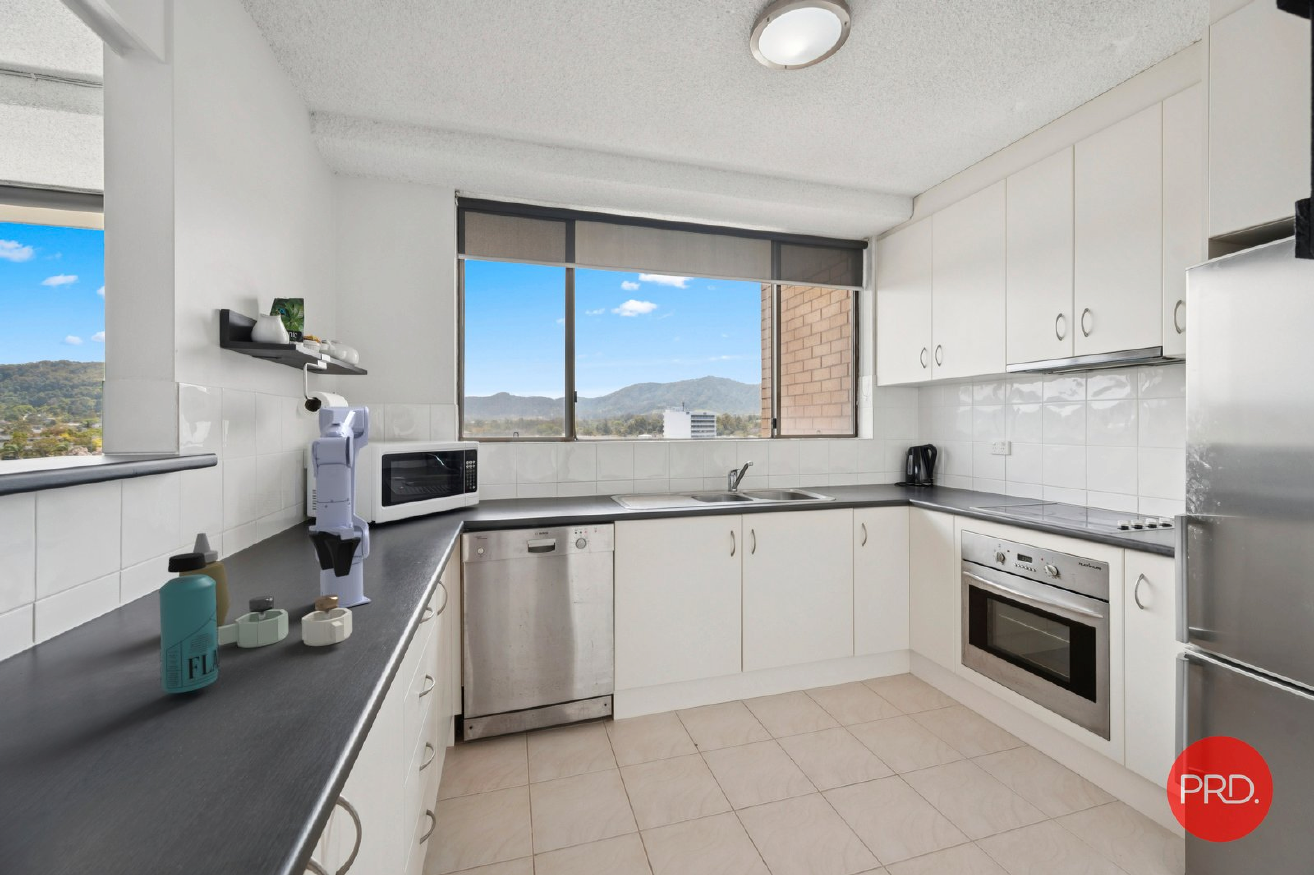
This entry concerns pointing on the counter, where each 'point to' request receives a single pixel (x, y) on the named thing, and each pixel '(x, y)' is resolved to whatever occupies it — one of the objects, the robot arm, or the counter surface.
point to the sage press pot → (256, 629)
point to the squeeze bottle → (213, 576)
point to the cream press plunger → (326, 604)
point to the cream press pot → (326, 627)
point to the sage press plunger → (261, 605)
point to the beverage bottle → (188, 627)
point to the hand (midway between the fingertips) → (335, 572)
